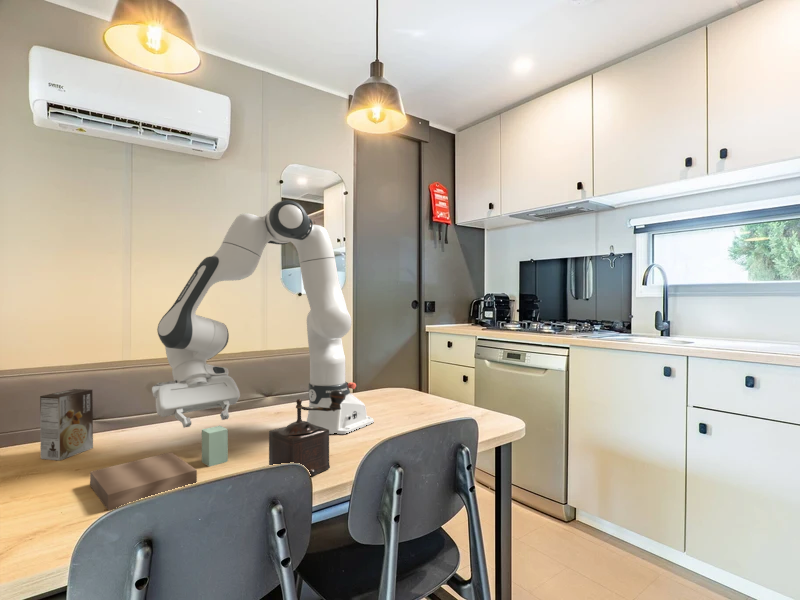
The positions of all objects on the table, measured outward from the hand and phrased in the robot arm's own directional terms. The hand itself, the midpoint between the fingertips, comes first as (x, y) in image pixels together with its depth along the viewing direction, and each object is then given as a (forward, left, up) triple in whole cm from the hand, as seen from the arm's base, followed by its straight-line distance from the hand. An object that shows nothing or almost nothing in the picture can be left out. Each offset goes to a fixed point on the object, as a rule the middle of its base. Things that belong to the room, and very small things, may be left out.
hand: (207, 422), depth 105 cm
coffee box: (+24, -30, -9) cm, 39 cm away
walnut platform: (+16, +6, -9) cm, 19 cm away
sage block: (0, +4, -9) cm, 10 cm away
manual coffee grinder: (-14, +24, -9) cm, 30 cm away
